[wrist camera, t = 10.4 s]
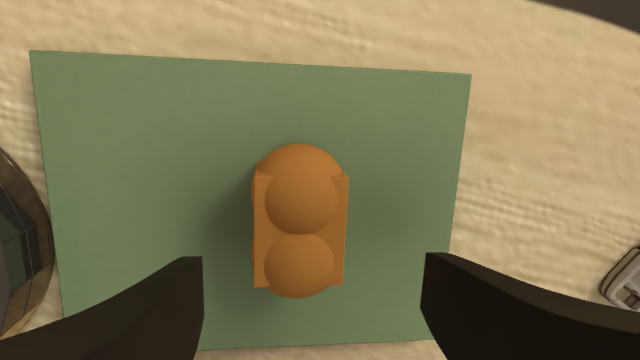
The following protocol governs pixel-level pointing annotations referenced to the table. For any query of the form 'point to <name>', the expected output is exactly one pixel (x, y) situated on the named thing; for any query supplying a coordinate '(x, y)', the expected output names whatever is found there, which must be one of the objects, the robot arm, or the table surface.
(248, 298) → the cutting board
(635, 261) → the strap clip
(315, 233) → the orange double sphere block
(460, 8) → the table surface
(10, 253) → the pan
